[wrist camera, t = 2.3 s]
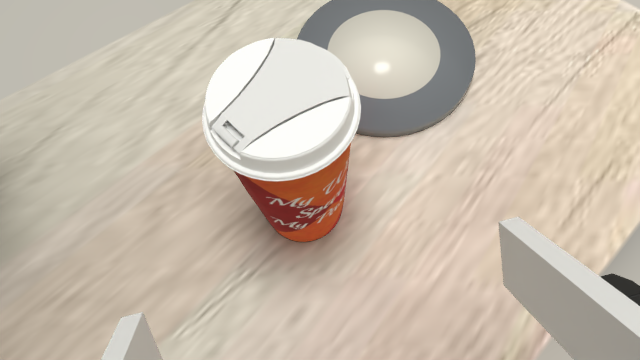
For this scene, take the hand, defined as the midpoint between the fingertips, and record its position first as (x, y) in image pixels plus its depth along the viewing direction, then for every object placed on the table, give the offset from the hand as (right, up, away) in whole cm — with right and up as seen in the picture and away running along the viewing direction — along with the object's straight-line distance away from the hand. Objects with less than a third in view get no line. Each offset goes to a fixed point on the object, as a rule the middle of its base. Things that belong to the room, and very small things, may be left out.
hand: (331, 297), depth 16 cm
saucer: (+5, +15, +25) cm, 30 cm away
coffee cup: (-2, +2, +19) cm, 20 cm away
